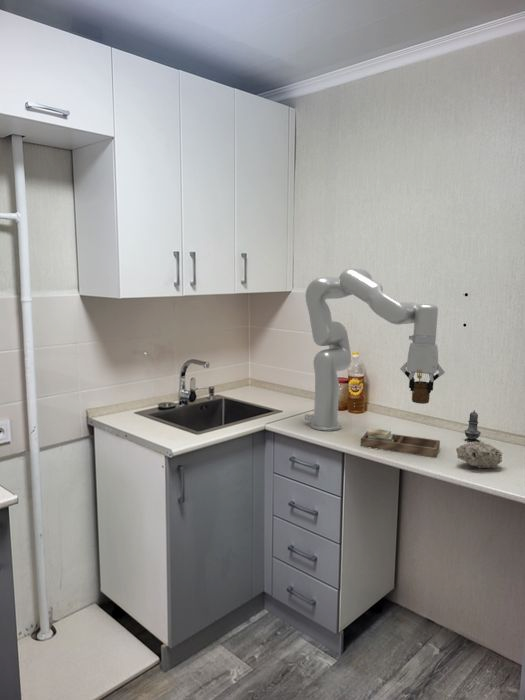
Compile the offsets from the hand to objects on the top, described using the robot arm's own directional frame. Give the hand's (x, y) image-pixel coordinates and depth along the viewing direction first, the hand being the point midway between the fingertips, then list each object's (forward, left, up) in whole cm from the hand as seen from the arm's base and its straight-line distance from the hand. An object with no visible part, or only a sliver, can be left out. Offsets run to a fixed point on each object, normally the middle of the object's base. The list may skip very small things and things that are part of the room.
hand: (420, 390), depth 190 cm
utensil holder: (0, 0, -4) cm, 4 cm away
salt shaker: (+17, +20, -21) cm, 34 cm away
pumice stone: (+20, -9, -21) cm, 31 cm away
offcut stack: (-13, -2, -21) cm, 25 cm away
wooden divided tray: (-6, -1, -21) cm, 22 cm away
